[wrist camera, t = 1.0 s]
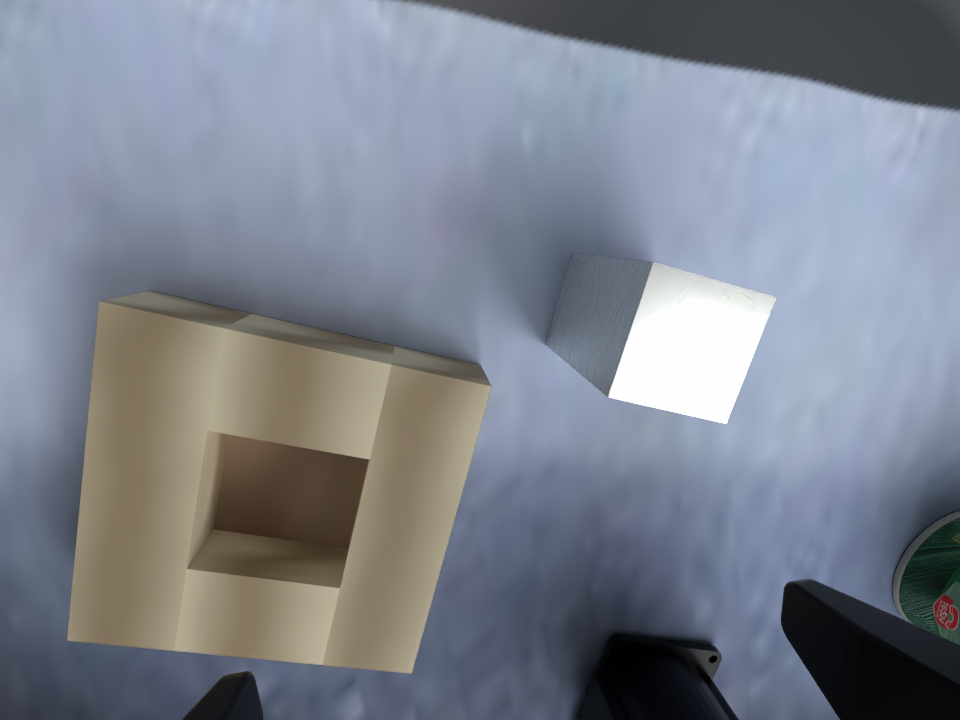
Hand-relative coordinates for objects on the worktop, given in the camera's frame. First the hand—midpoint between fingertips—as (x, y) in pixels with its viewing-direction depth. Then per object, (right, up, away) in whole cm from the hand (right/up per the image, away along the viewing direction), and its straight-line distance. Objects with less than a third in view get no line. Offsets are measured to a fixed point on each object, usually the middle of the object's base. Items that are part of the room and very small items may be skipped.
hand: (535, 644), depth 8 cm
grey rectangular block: (+4, +7, +13) cm, 15 cm away
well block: (-9, 0, +13) cm, 15 cm away
